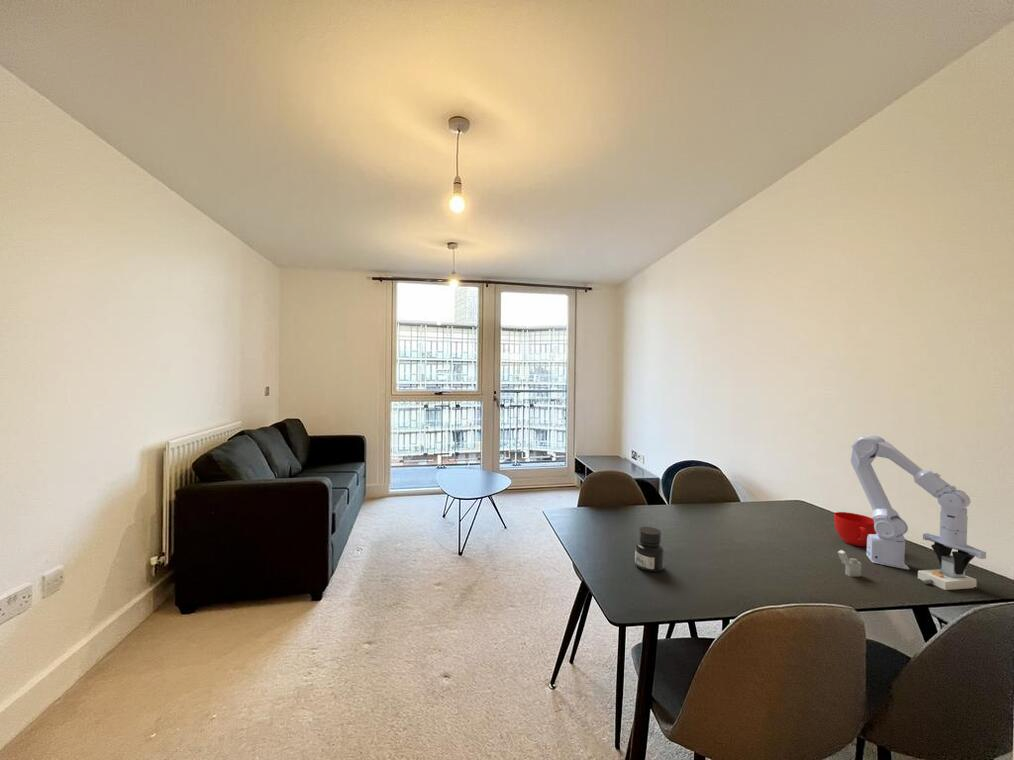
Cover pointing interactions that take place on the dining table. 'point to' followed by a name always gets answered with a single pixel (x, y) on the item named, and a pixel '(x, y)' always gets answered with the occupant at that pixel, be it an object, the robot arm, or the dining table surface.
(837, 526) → the ceramic cup
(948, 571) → the plug
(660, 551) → the ink bottle
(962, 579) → the white rectangular frame
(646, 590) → the dining table surface
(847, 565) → the lighter
